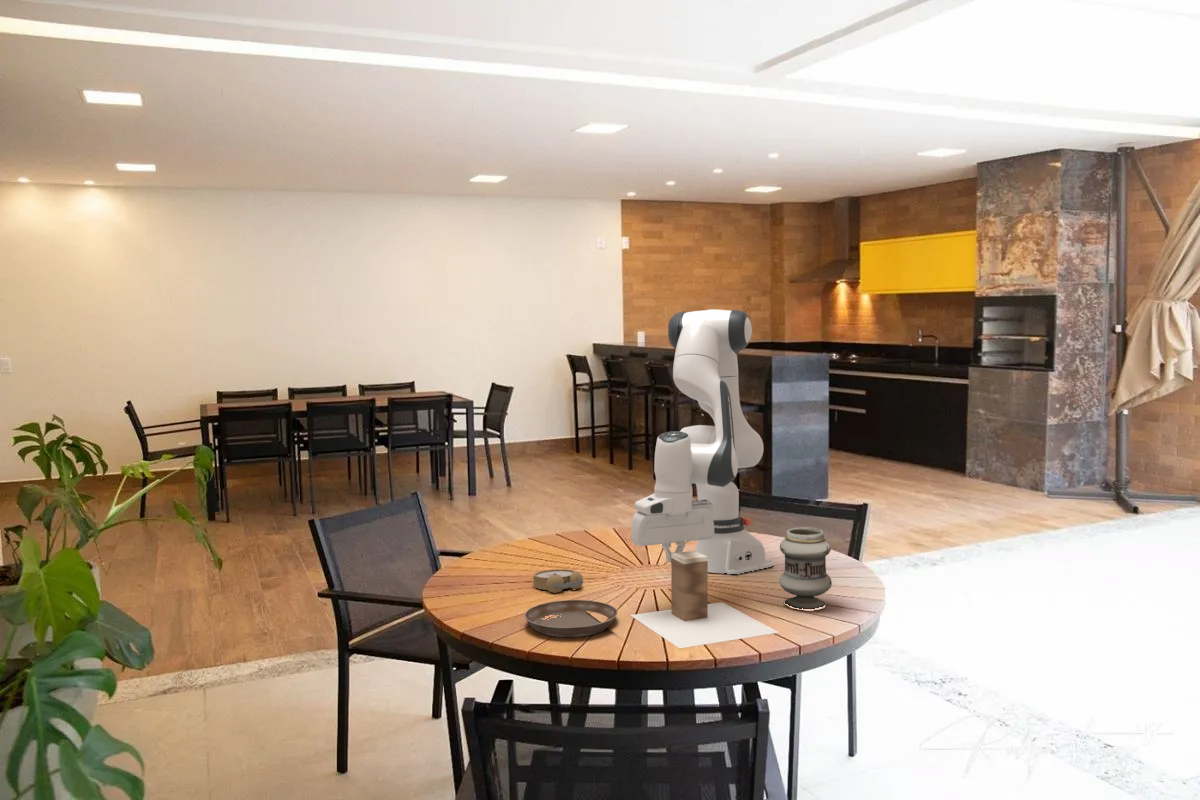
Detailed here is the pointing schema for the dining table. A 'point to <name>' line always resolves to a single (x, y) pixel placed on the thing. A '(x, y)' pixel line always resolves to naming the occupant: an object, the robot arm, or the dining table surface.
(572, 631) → the plant saucer
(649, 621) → the white mat
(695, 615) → the walnut block
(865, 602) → the dining table surface
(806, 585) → the apothecary jar
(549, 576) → the alarm clock
